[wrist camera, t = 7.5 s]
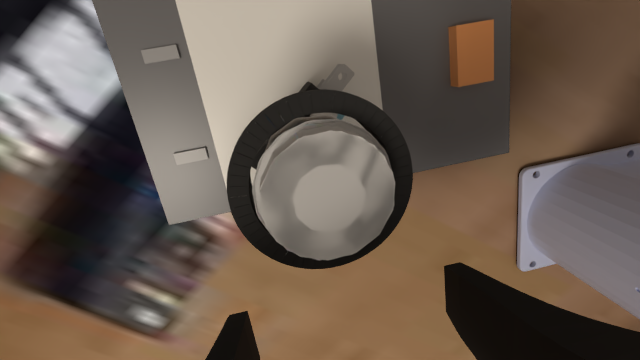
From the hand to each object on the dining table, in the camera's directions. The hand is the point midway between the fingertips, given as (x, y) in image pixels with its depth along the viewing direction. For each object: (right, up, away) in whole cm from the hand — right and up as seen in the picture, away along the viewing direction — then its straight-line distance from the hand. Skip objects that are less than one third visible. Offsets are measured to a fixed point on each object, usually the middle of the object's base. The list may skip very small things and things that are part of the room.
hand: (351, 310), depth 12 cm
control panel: (-1, +10, +7) cm, 13 cm away
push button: (-2, +8, +6) cm, 10 cm away
